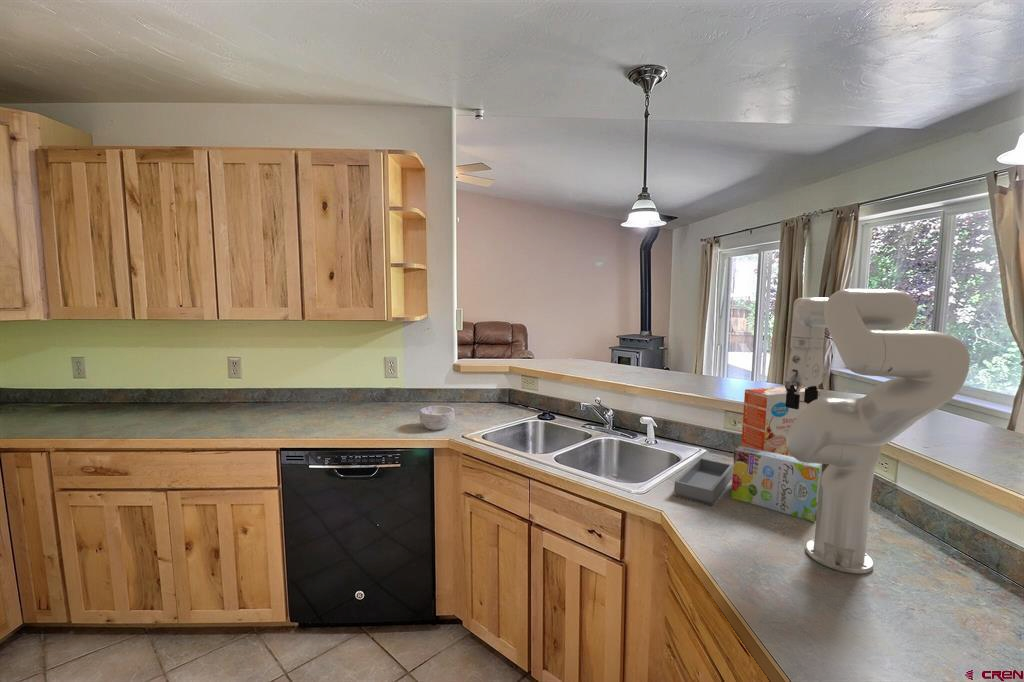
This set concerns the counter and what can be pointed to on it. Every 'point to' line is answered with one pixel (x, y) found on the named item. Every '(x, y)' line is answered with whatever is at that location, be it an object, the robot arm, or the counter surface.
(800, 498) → the snack box
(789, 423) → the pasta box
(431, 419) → the grey bowl
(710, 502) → the tray
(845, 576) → the counter surface
